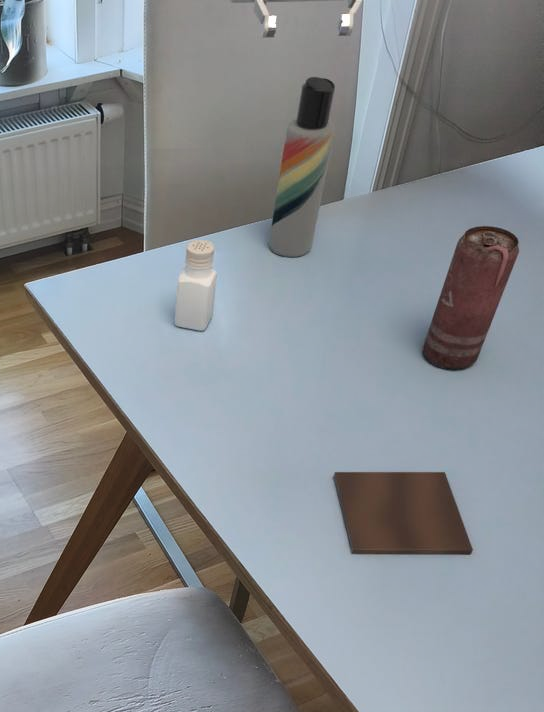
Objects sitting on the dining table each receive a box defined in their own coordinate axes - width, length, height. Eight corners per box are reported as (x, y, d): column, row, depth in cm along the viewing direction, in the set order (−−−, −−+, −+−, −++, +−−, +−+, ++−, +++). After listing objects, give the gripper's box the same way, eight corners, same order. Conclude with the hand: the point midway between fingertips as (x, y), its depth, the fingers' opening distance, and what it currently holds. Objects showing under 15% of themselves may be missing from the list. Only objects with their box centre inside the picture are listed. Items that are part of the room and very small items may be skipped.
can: (446, 378, 99) (489, 258, 88) (410, 349, 103) (448, 231, 92) (489, 364, 100) (537, 245, 90) (452, 336, 104) (494, 218, 93)
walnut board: (443, 476, 89) (445, 471, 88) (471, 554, 82) (473, 550, 82) (333, 476, 89) (334, 471, 89) (351, 554, 82) (353, 549, 82)
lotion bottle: (279, 233, 121) (307, 68, 105) (318, 244, 119) (352, 77, 103) (260, 250, 118) (286, 84, 102) (299, 262, 116) (331, 93, 100)
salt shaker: (172, 327, 107) (178, 251, 100) (182, 310, 109) (188, 235, 102) (204, 333, 106) (212, 257, 99) (213, 316, 108) (222, 240, 101)
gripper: (229, -103, 105) (226, 21, 107) (402, -108, 104) (397, 17, 106) (222, -67, 112) (219, 50, 113) (385, -71, 111) (380, 46, 112)
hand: (307, 34), depth 109 cm, fingers open, 8 cm apart
